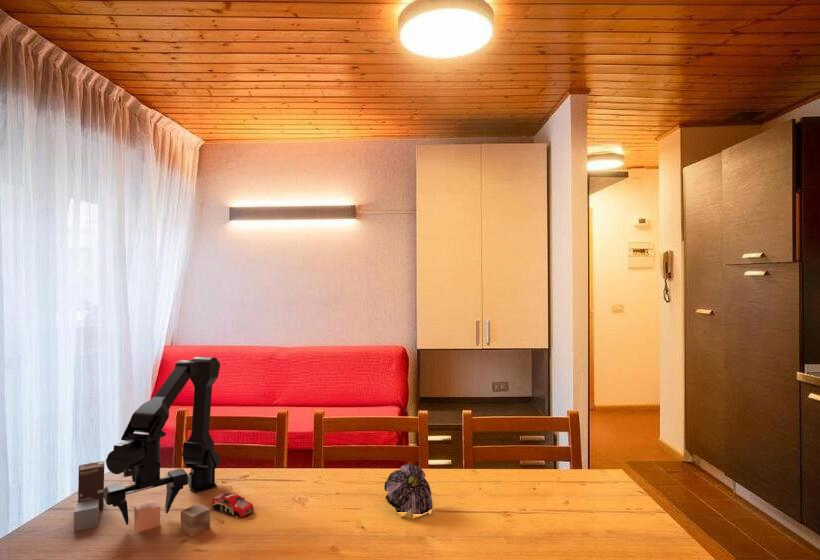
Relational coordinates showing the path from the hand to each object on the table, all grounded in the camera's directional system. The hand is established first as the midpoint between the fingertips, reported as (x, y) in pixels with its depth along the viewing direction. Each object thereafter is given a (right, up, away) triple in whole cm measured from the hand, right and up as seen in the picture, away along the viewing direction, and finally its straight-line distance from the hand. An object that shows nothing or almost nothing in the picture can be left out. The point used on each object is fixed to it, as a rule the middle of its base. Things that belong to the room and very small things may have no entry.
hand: (147, 518), depth 123 cm
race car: (+19, -2, +8) cm, 21 cm away
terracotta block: (0, -2, 0) cm, 2 cm away
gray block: (-16, -2, 0) cm, 16 cm away
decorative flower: (+68, -3, +11) cm, 69 cm away
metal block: (+13, -2, -2) cm, 14 cm away
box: (-20, -2, +8) cm, 22 cm away
